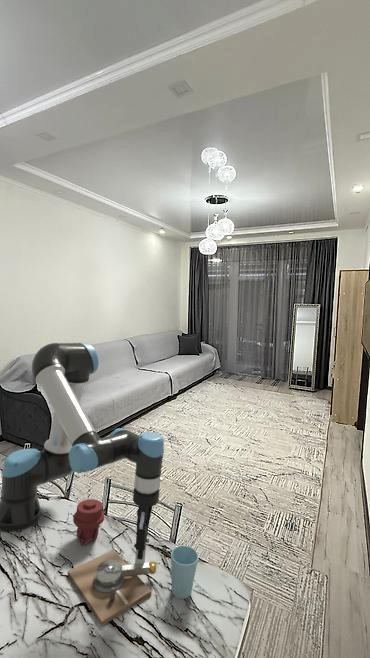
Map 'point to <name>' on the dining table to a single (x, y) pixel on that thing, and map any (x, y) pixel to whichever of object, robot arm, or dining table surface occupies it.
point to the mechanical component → (88, 519)
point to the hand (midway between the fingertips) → (139, 566)
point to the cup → (183, 570)
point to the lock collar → (120, 572)
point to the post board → (107, 589)
